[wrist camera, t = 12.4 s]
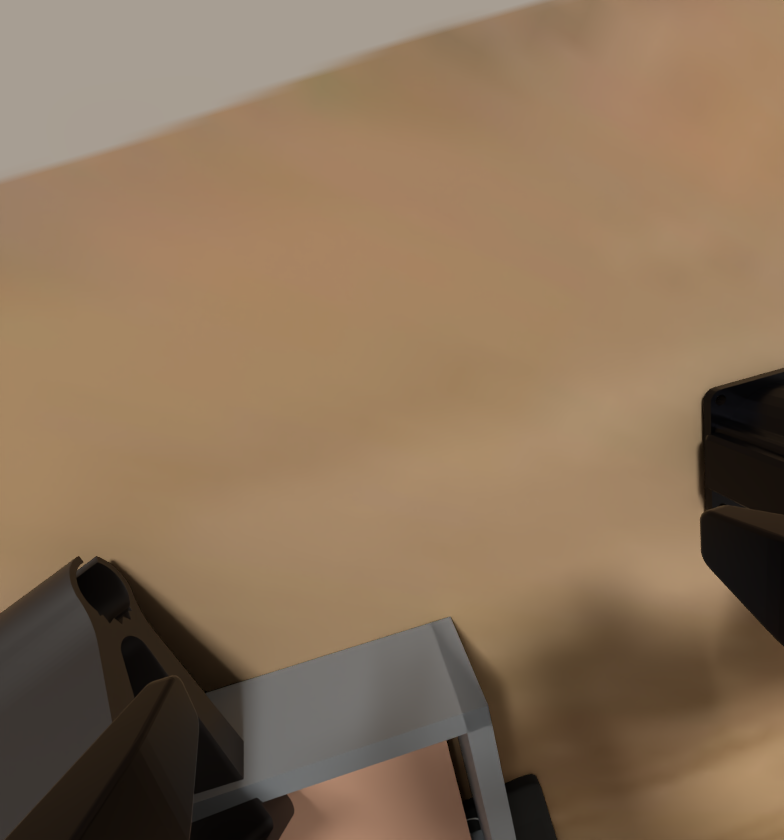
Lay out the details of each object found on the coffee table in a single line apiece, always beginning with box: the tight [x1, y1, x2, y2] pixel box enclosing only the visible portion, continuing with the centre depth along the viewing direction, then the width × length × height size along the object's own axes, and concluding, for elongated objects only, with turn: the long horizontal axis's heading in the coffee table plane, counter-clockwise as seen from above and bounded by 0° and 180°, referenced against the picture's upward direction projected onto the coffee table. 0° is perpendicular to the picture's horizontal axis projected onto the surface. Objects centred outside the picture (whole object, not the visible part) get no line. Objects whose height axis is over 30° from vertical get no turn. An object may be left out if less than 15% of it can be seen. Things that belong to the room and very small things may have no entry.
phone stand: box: [0, 556, 294, 840], centre depth 16 cm, size 9×6×12 cm
